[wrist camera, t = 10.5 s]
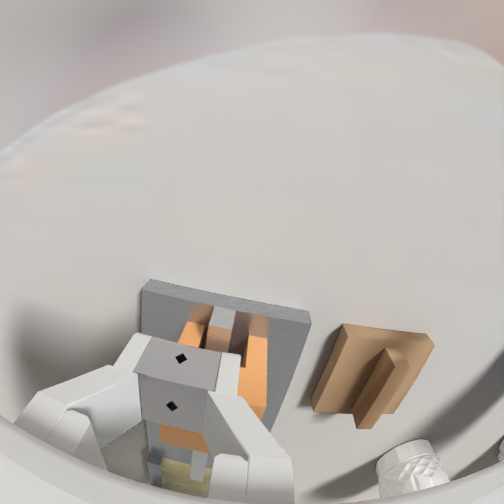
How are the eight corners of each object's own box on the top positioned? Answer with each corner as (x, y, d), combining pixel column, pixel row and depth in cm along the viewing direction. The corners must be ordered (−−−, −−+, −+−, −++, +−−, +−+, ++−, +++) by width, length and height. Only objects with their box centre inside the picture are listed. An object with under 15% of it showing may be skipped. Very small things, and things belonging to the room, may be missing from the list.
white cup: (356, 470, 24) (369, 542, 15) (405, 431, 22) (433, 510, 12) (401, 473, 25) (418, 533, 16) (446, 437, 23) (473, 500, 13)
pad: (426, 334, 18) (446, 362, 15) (388, 401, 20) (399, 431, 17) (342, 323, 18) (355, 356, 15) (311, 397, 20) (315, 432, 17)
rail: (308, 311, 18) (318, 355, 14) (237, 494, 27) (234, 523, 22) (150, 279, 18) (120, 314, 13) (157, 477, 27) (148, 505, 22)
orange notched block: (187, 321, 17) (159, 383, 12) (267, 338, 17) (266, 407, 12) (180, 380, 18) (159, 441, 13) (249, 394, 18) (244, 459, 13)
